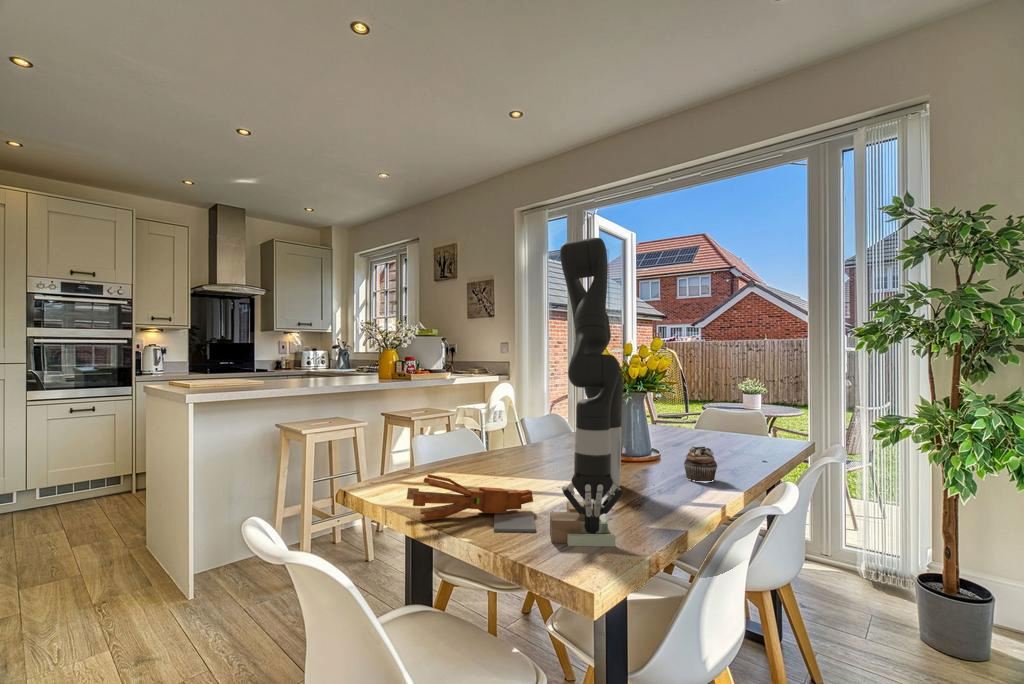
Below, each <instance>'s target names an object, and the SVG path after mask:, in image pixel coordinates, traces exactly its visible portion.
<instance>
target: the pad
mask: <svg viewBox="0 0 1024 684" xmlns="http://www.w3.org/2000/svg"><path fill="white" fill-rule="evenodd" d="M493 514H494V516H493V517H494V518H493V532H499V533H500V532H502V533H503V532H505V533H506V532H511V533H513V532H514V533H517V532H518V533H533V532H534V533H536V532H537V531H536V525H535V518H534V515H533V514H498V513H493Z"/></svg>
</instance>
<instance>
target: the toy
mask: <svg viewBox="0 0 1024 684" xmlns="http://www.w3.org/2000/svg"><path fill="white" fill-rule="evenodd" d="M423 483H425V484H428V486H430V487H435V488H439V489H444V490H447V491H450V492H454V493H448V492H446V493H445V492H437V491H420V490H419V489H420V488H417V487H415V488H414V487H408V488H407V492H406V493H407V495H406V500H411V501H413V502H412V506H413V507H423V508H420V509H419V511H420V512H419V513H420V515H423V516H421V520H422V521H424V522H425V521H431V520H437V519H443V518H448V517H450V516H452V515H455V514H458V513H460V512H462V511H466V510H468V509H469V510H478V511H480V512H481V513H483V514H503V515H508V514H507V513H508V511H511V510H521V509H522V508H523V507H522V505H525V504H529V503H533V502H534V498H533V491H532V490H531V489H525V490H521V491H518V490H516V489H513V490H507V489H504V488H502V487H501V488H497V487H481V486H479V487H478V489H468V488H466V487H465V486H463V485H462V484H459V483H457V482H456V481H454V480H452V479H451V478H449V477H444V476H440V475H434V474H429V473H428V474H427V476H426V477H424V478H423ZM456 493H457V494H456ZM426 504H442V505H439V506H431V507H426ZM443 504H445V505H443Z"/></svg>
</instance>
